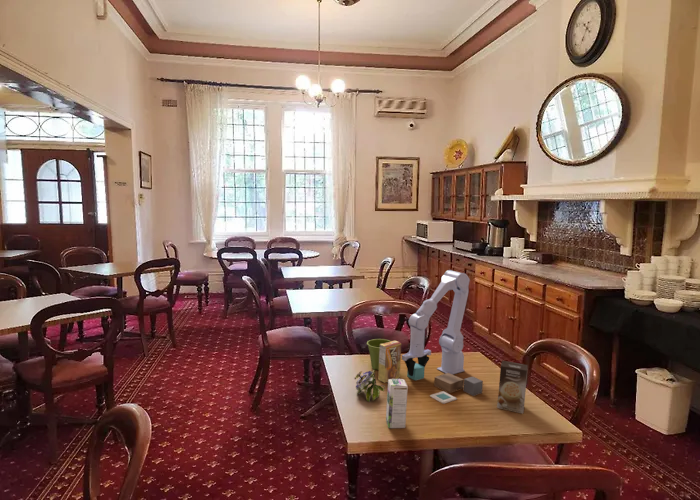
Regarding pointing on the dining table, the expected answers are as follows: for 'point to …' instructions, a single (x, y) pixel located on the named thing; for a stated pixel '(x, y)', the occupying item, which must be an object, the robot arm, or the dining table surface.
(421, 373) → the teal cube
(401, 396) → the syrup box
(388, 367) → the candy box
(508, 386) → the coffee box
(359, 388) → the passion flower
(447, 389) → the walnut block
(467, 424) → the dining table surface
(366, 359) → the dining table surface
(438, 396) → the card
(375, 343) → the plant pot
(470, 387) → the charcoal cube
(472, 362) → the dining table surface
